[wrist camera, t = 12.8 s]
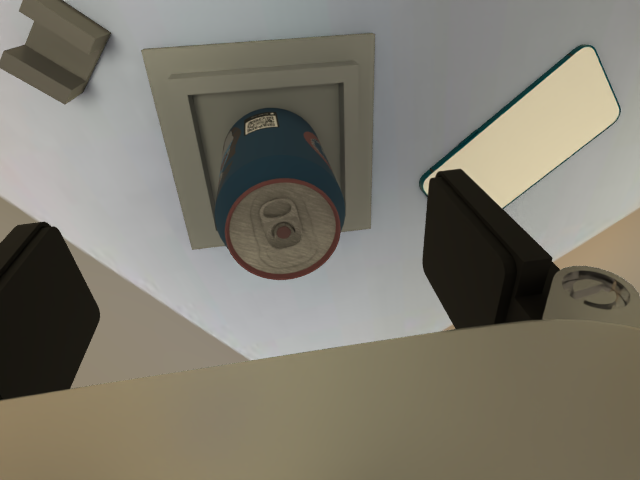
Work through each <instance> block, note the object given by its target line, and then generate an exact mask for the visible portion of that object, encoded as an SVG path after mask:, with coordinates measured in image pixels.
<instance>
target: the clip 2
mask: <svg viewBox="0 0 640 480" xmlns="http://www.w3.org/2000/svg"><path fill="white" fill-rule="evenodd" d="M19 12H21V13H23V14H24V15H26V16H27V17H29V18H31V19H32V20H34V23H33V26H32V28H31V31H30V33H29V36H28V38H27V41H26V43H25V45H23V46H19V47H16V48H12V49H9V50H5V51H4V52H3V54H2V57H1V59H0V68H1V69H3V70H5V71H6V72H8V73H10V74H12V75H13V76H15V77H17V78H19V79H21V80H22V81H24V82H26V83H28V84H29V85H31V86H33V87H35V88H37V89H38V90H40V91H42V92H44V93H45V94H47V95H49V96H51V97H53V98H54V99H56V100H58V101H60V102H61V103H63V104H67V103H68V102H70V101H71V100H73V99H74V98H76V97H77V96H78V95H80V94H81V93H83V91H84V89H85V87H86V85H87V83H88V81H89V79H90V77H91V74H92V72H93V70H94V68H95V66H96V64H97V62H98V60H99V58H100V55H101V53H102V51H103V49H104V47H105V45H106V43H107V41H108V39H109V36H110V34H111V32H109V31H108V30H106V29H105V28H103V27H102V26H100V25H99V24H97V23H96V22H94V21H93V20H91V19H90V18H88V17H87V16H85V15H84V14H82V13H81V12H79V11H77V10H76V9H74V8H73V7H71V6H70V5H68V4H67V3H65V2H64V1H62V0H23V2H22V4H21V7H20V9H19Z"/></svg>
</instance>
